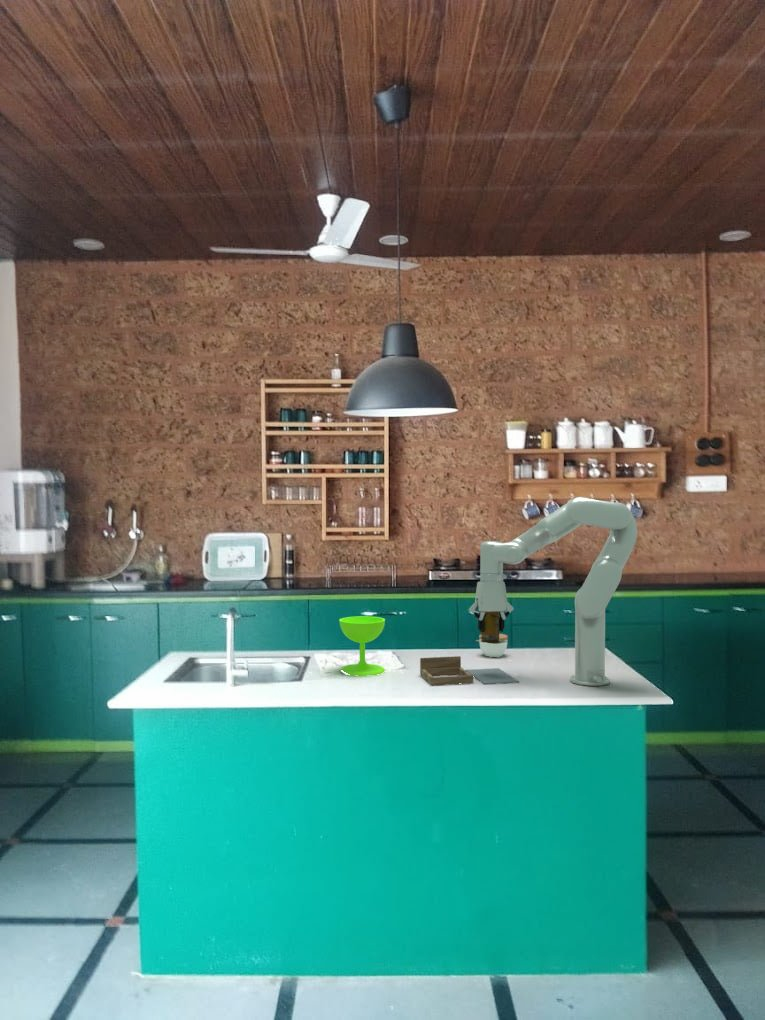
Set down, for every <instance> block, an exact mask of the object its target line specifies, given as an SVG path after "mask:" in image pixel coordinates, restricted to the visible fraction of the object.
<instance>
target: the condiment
mask: <svg viewBox="0 0 765 1020" xmlns="http://www.w3.org/2000/svg"><path fill="white" fill-rule="evenodd" d="M499 619H500V616H499V614H498V612H485V614H484V617H483V621H484V632H480V633H481V634H480V635H481V639H482V640H479V639H476V640H475V641H476V642H478V643H480V642H486V643H492V644H500V643H505V642H507V643H508V640H507V641H502V640H499V634H500V631H499Z"/></svg>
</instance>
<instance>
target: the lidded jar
mask: <svg viewBox="0 0 765 1020" xmlns="http://www.w3.org/2000/svg"><path fill="white" fill-rule="evenodd" d="M478 638H479V639H478V640H482V639H481V634H479V636H478ZM508 638H509V637H508V634H504V633H499V640H502V641H507V642H505V643H500V644H492V643H486V642H479V648H480V651H481V652H482V653H483V655H484V656H485V657H486V656H489V657H488V658H492V657H497V658H501V657H502V656H503V655H504V654H505V652H506V650H507V648H508ZM500 656H501V657H500Z"/></svg>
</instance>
